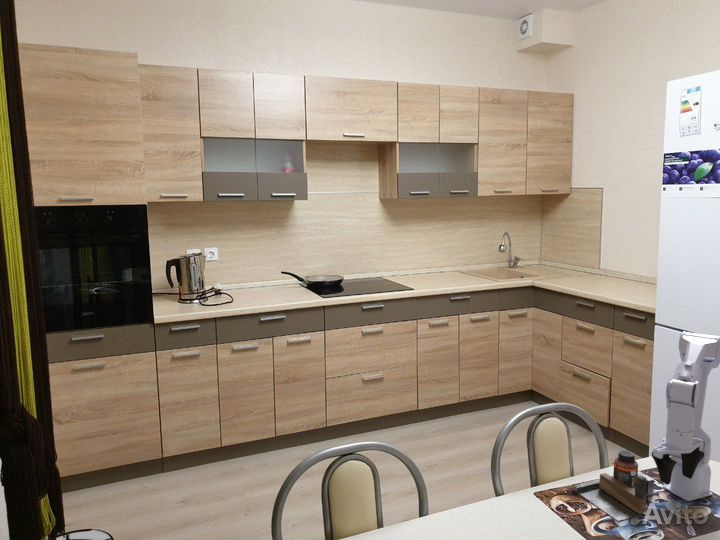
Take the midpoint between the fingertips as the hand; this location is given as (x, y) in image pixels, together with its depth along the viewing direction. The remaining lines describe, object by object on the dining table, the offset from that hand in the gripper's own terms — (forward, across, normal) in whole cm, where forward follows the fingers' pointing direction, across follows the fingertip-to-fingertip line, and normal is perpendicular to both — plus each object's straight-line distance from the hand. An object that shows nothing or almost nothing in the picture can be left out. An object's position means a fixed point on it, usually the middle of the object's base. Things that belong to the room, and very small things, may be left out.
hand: (676, 479), depth 136 cm
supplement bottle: (+11, +2, -14) cm, 18 cm away
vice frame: (+10, +4, -12) cm, 16 cm away
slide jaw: (+10, +6, -11) cm, 16 cm away
